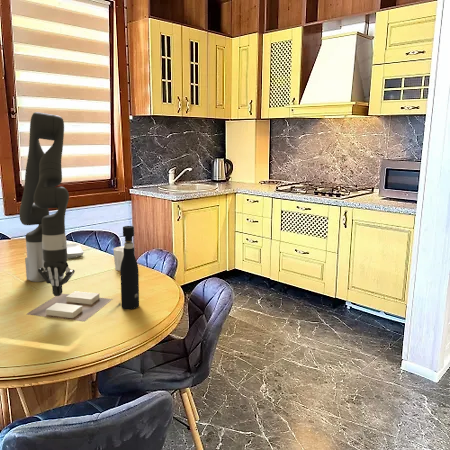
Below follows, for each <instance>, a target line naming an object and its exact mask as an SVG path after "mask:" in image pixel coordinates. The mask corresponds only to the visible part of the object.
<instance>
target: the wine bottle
mask: <svg viewBox="0 0 450 450" xmlns="http://www.w3.org/2000/svg"><path fill="white" fill-rule="evenodd" d="M134 236H135V227H134V226H133V225H125V226H122V237H124V243H123V246H124V256H123V259H122V262H121V268H120V271H119V272H120V299H121V300H120V303H121V309H123V310H126V311H127V310H130V311H131V310H136V309H138V308H140V307H139V306H140V285H139V283H140V281H139V276H140V275H139V264H138V262H137V259H136V256H135V247H134V242H133V237H134Z"/></svg>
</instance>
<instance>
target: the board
mask: <svg viewBox="0 0 450 450" xmlns="http://www.w3.org/2000/svg"><path fill="white" fill-rule="evenodd" d="M70 294H71V293H70ZM70 294H69V293H62V294H61V295H60V296H54V297H52V298H51V299H49V300H46V301H45V302H44V303H42V304H41V305H39V306H37V307H35V308H33V309H32V310H30V311H29V312H27V313H26V315H30V316H37V317H44V318H51V319H53V318H54V319H60V320H61V319H63V320H69V321H77V322H86V321H87V320H88V319H90V318H91V317H92V316H94V315H95V314H97V312H99V311H100V310H101V309H102V308H104V307H106V305H107V304H108V303H110V302H111V301H113V299H112V298H107V297H106V298H105V297H99V298H100V299H98V300H97V301H95V302H94V303H93V304H82V303H73V302H66V296H68V295H70ZM55 303H63V304H71V305H80V306H82V312H81V313H79V314H78V315H77V316H75V317H74V318H67V317H59V316H51V315H46V309H47V308H49V307H51V306H52V305H54V304H55Z"/></svg>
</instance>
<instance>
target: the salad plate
mask: <svg viewBox="0 0 450 450" xmlns="http://www.w3.org/2000/svg"><path fill="white" fill-rule="evenodd" d="M83 254H84V250H83V249H82V246H81V244H80V243H67V259H73V258H77V257H80V256H82V255H83Z"/></svg>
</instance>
